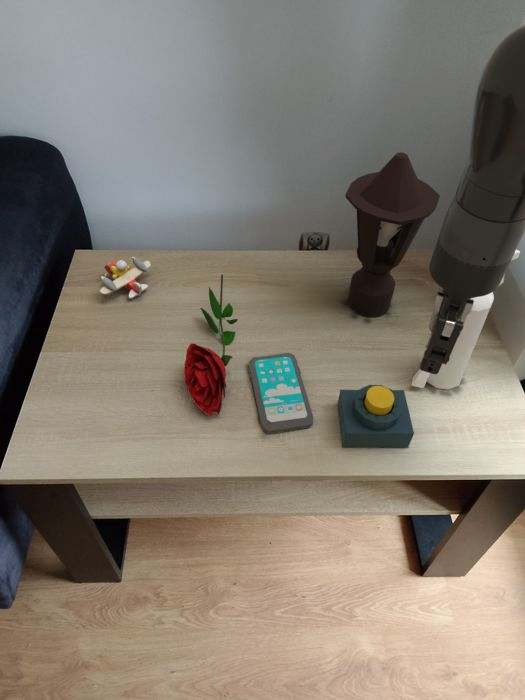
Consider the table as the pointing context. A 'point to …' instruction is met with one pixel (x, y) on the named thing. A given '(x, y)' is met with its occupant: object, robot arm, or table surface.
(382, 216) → the lantern
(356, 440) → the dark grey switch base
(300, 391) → the smartphone
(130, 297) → the toy airplane
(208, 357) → the flower
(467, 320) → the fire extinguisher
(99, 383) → the table surface
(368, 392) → the button
